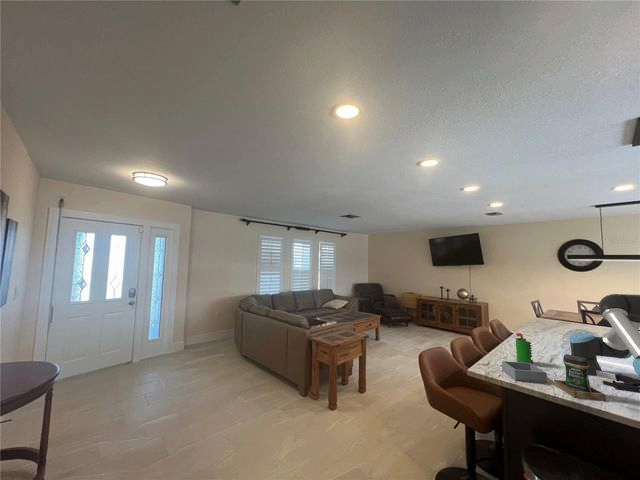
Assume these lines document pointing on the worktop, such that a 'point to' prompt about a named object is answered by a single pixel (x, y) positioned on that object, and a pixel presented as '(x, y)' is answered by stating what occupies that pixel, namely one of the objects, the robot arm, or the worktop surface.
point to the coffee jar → (577, 373)
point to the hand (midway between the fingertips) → (594, 376)
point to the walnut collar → (578, 394)
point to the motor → (523, 350)
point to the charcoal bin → (524, 372)
